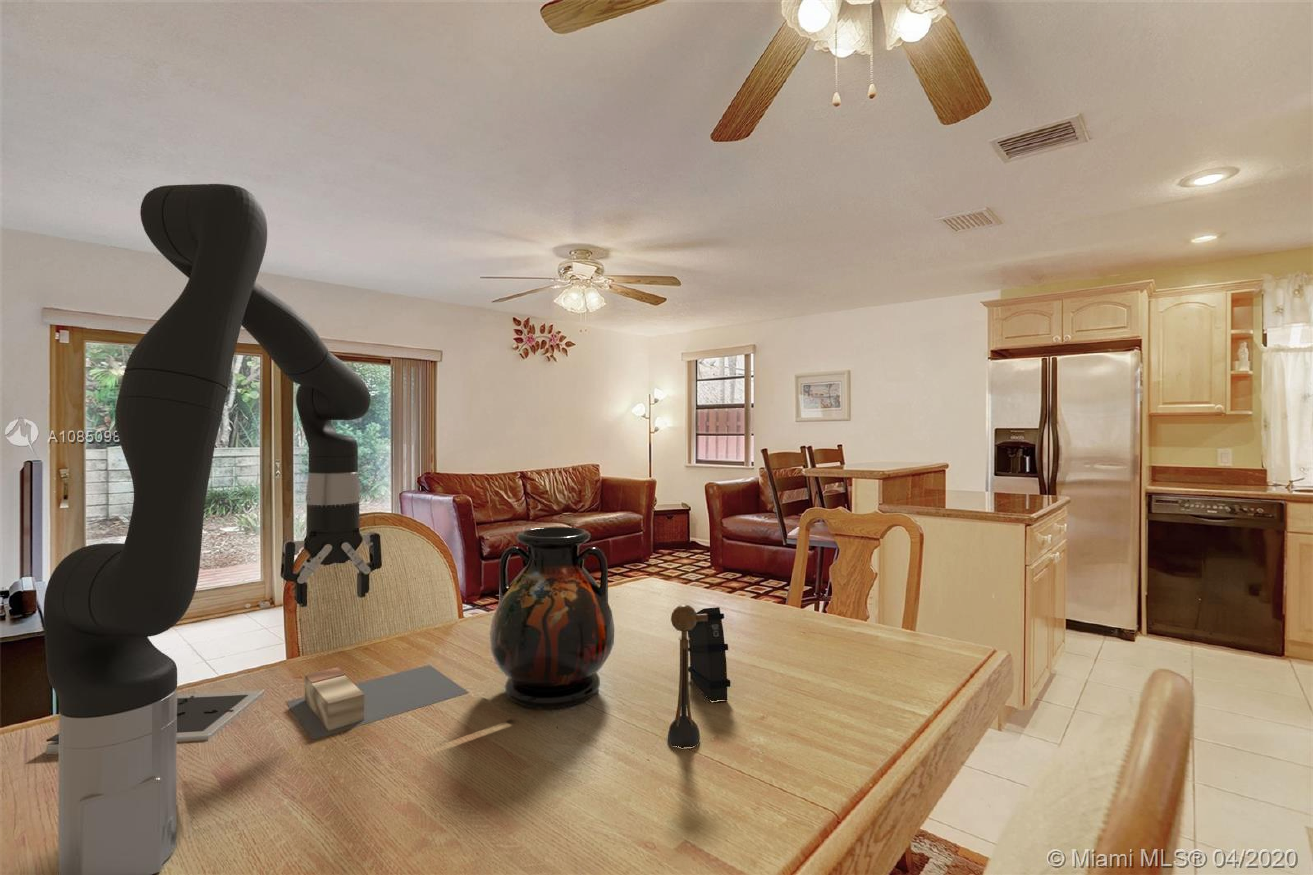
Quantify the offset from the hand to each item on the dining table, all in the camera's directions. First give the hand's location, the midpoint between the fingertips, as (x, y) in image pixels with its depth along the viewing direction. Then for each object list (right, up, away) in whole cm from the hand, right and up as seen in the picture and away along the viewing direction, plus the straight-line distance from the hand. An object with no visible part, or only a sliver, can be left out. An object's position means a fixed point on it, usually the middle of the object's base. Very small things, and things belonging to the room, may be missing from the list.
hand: (333, 601), depth 97 cm
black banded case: (+61, -19, +11) cm, 65 cm away
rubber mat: (+5, -18, +4) cm, 19 cm away
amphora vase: (+34, -19, +9) cm, 40 cm away
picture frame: (-24, -19, -4) cm, 31 cm away
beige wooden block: (0, -17, 0) cm, 17 cm away
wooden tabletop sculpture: (+57, -19, -8) cm, 60 cm away
